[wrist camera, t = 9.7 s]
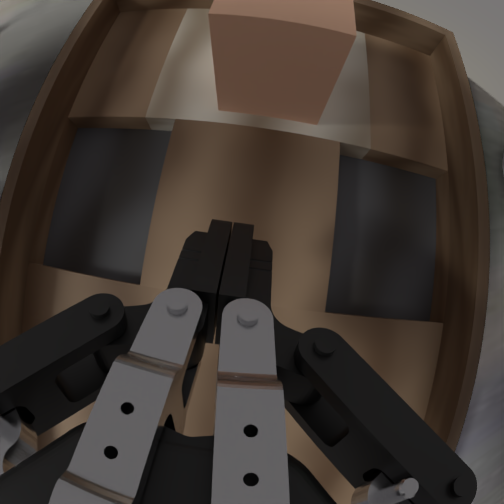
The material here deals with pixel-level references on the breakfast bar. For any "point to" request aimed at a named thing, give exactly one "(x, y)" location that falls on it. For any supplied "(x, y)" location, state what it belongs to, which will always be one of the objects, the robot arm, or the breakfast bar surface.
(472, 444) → the breakfast bar surface
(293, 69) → the block
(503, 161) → the soda can
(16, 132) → the breakfast bar surface
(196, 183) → the box
